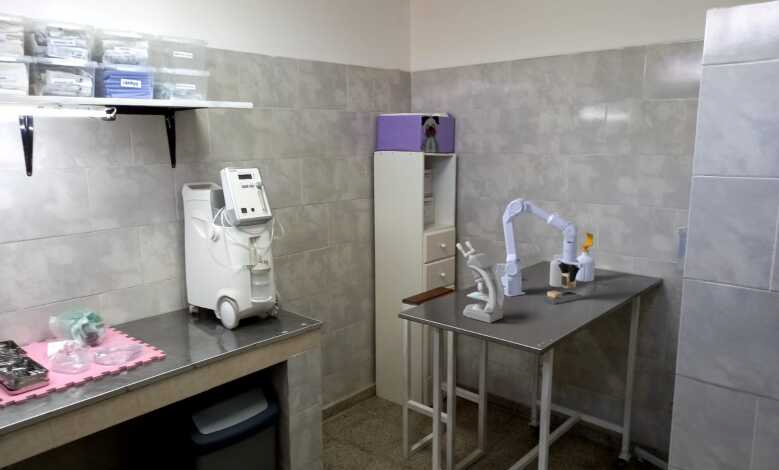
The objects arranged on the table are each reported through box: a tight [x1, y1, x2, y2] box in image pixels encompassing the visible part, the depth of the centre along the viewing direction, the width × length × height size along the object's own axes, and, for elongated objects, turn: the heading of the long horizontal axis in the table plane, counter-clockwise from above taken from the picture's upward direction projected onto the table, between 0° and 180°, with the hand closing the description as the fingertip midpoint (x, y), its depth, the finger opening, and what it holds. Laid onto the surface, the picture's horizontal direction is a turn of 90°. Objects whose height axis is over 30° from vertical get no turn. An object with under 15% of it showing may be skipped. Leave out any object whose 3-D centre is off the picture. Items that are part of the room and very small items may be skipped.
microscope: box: [455, 240, 505, 324], centre depth 225 cm, size 11×19×30 cm, turn 45°
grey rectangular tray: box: [542, 290, 583, 305], centre depth 247 cm, size 16×7×2 cm, turn 116°
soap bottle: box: [576, 231, 596, 283], centre depth 278 cm, size 9×9×25 cm
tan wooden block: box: [560, 273, 577, 289], centre depth 247 cm, size 5×4×6 cm, turn 116°
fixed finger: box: [546, 290, 562, 299], centre depth 245 cm, size 4×5×3 cm
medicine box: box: [495, 263, 506, 279], centre depth 280 cm, size 8×4×9 cm, turn 84°
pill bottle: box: [549, 253, 563, 288], centre depth 269 cm, size 8×8×15 cm
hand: (568, 280), depth 247 cm, fingers closed on tan wooden block, 3 cm apart
